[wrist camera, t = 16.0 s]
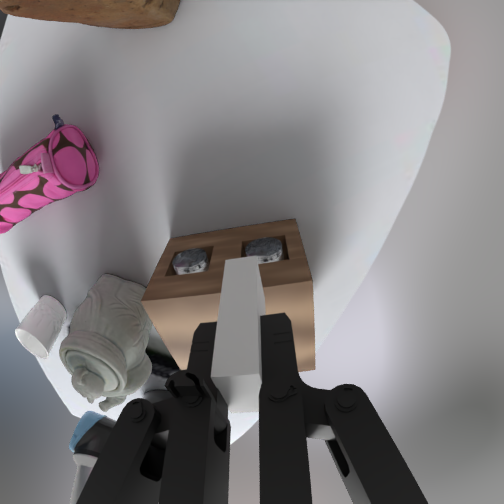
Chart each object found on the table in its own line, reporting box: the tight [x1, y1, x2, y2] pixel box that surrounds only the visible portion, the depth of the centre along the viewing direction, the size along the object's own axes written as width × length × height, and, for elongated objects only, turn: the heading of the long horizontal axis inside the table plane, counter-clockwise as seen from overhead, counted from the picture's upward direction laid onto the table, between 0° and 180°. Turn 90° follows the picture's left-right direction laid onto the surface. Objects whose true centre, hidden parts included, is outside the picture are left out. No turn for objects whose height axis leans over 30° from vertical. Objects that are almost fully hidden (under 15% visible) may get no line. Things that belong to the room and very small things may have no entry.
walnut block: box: [141, 219, 315, 372], centre depth 33 cm, size 14×16×12 cm
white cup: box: [15, 295, 67, 359], centre depth 39 cm, size 8×8×10 cm
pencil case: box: [0, 114, 99, 234], centre depth 25 cm, size 21×10×10 cm, turn 107°
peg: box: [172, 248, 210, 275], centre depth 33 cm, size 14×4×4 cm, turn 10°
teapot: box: [59, 274, 152, 412], centre depth 34 cm, size 16×15×19 cm
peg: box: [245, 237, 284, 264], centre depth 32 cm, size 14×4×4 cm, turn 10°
